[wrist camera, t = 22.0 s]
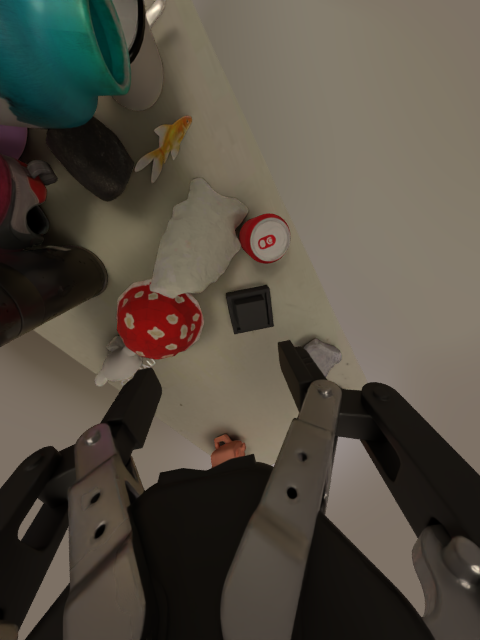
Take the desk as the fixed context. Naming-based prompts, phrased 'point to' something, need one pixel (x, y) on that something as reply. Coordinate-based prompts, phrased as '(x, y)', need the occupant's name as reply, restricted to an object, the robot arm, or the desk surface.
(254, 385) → the desk surface
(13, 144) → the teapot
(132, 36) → the mug
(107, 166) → the stone
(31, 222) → the sneaker
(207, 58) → the desk surface
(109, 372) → the figurine
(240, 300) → the small pad
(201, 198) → the rock
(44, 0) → the vase
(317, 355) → the stone block
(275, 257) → the beverage can
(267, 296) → the base pad
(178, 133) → the fish
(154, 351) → the decorative mushroom
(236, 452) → the pink piece
